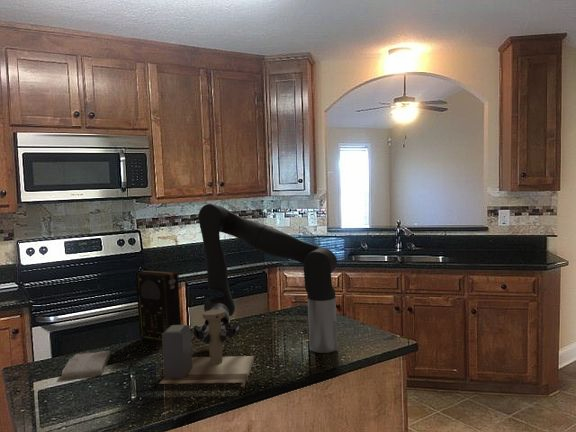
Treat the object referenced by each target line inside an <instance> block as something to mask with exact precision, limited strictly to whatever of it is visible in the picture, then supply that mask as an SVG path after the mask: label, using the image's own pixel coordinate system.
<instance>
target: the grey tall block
mask: <svg viewBox="0 0 576 432" xmlns="http://www.w3.org/2000/svg"><path fill="white" fill-rule="evenodd" d="M161 343H162V357H163V358H162V359H163V361H162V362H163V371H164V372H163V373H164V377H165V378H185V377H186V376H187V374H188V373H189V372H190V370H191V369H192V357H193V356H192V355H193V353H192V337H191V325H190V324H189V325H188V324H181V325H172V326H170V327H169V328H167V329H166V330H165V331H164V332H163V333H162V342H161ZM164 377H163V378H164Z"/></svg>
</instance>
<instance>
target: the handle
mask: <svg viewBox="0 0 576 432" xmlns="http://www.w3.org/2000/svg"><path fill="white" fill-rule="evenodd" d="M225 315H226V312H225V310H222V309H217V310H209V311H206V312H205V311H203V312H202V318H203V319H204V320H208V322H209V343H208V352H209V353H208V355H209V357H210V358H211V359H210V361H211V364H212V365H219V364H221V363H222V357H223V354H224V352H223V351H224V344H223V343H224V342H223V343H221V319H222V318H223V317H224V316H225Z"/></svg>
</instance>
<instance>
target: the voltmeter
mask: <svg viewBox="0 0 576 432" xmlns="http://www.w3.org/2000/svg"><path fill="white" fill-rule="evenodd" d="M178 275H179V273H178V272H174V271H173V272H172V271H161V270H160V271H159V270H142V271H140V272H136V273H135V282H136V285H135V286H136V296H137V313H138V325H139V338H140V339H142V340H146V339H147V341H153V342H158V343H162V333H163V332H164V331H165V330H166V329H167V328H169V327H170V326H172V325H182V323H181V322H182V321H181V305H180V293H179V292H180V291H179V276H178Z"/></svg>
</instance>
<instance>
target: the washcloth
mask: <svg viewBox="0 0 576 432" xmlns="http://www.w3.org/2000/svg"><path fill="white" fill-rule="evenodd" d="M110 358H111V351H110V350H103V351H97V352H82V353H76V354H74V355H72V357H70V358H69V359H68V361H67V362H66V364H65V365H64V366H65V367H64V368H63V369H62V372H61V379H62V380H71V379H77V378H78V379H79V378H90V377H95V376H96V377H97V376H102V375H103V373H104V370H105V369H106V367H107V364H108V362H109V360H110ZM89 376H90V377H89Z"/></svg>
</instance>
